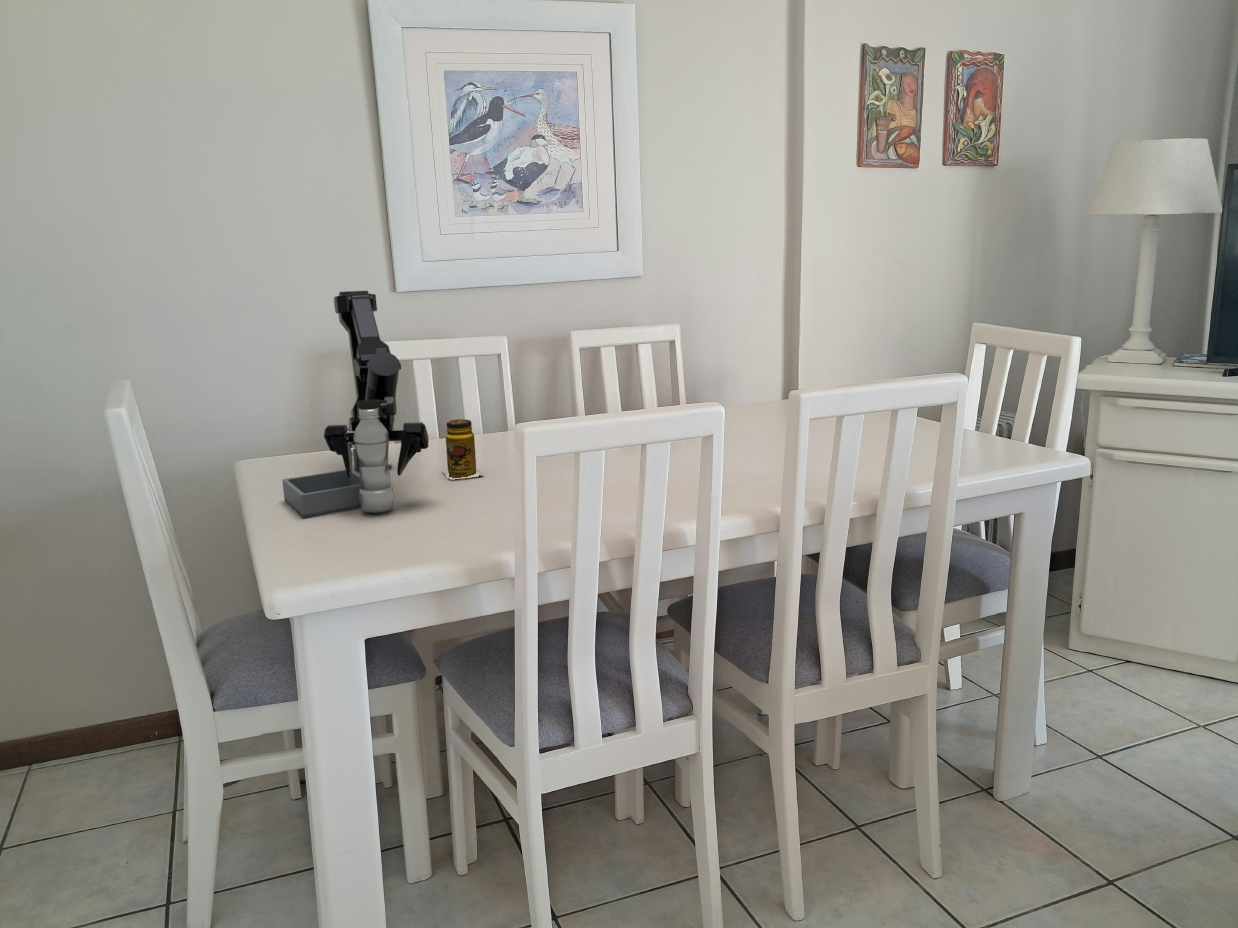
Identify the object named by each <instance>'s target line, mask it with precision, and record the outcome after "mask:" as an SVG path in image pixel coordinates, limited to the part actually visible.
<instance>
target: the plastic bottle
mask: <svg viewBox="0 0 1238 928" xmlns="http://www.w3.org/2000/svg"><path fill="white" fill-rule="evenodd" d="M379 418H380V416H379V408H377V409H371V410H361V409H360V408H359V419H361V420H360V423H359V424H358V426H357V428H356V429H355V431H354V435H353V439H354V444H355V445H354V449H355V448H356V452H357V456H358V463H359V469H360V470H359V474H360V491H359V501H360V505H361V508H360V509H362V511H364V512H366V513H369V514H378V513H379V514H380V513H385V512H389V511H391V510H392V509H393V507H394V506H395V501H396V495H395V492H394V487H393V486H392V481H391V474H390V469H389V465H390V464H389V448H390V447H389V445H390V441H389V434H388V431H387V429H386V428H385V427H384V425H383V424H382V423H381V422H380V421H379Z"/></svg>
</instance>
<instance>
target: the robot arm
mask: <svg viewBox="0 0 1238 928" xmlns="http://www.w3.org/2000/svg"><path fill="white" fill-rule="evenodd" d="M333 305H334V310H335V311H334V312H335V314H337V315H338V321H339V323H340V325H341V326H342V327H343V328H344V330H345V331H346V332H347V333H348V340H349V346H350V347H349V349H350V355H351V356H350V357H351V362H352V363H351V364H352V371H353V380H354V387H355V394H356V400H355V401H354V404H353V406H352V407H351V408H352V409H351V411H350V415H351V417H349V419H348V425H347V424H329V425H327V426H326V428H324V431H323V438H324V440H325V443H326V444H327V447H328V449H329V451H330V452H333V453H335V454H336V455H339V456H341V457H342V460H343V464H344V468H345V469H346V472H347V476H348V477H351V473H352V470H353V467H354V468H355V469H357V470H358V471H360V469H359V463H358V456H357V452H356V448H355V447H354V448H353V446H355V444H354V439H353V435H354V431H355V429H356V428H357V426H358V424H359V423H360V420H361V419H359V408H360V409H361V410H371V409H377V408H379V416H380V418H379V421H380V422H381V423H382V424H383V425H384V427H385V428H386V429H387V431H388V434H389V442H400V449H399V455H398V460H397V461H398V462H397V467H396V468H397V473H396V474H397V476H398V477H399V476H401V475H402V474H403V473H404V471H405V469H406V467H407V466H408V464H409V462H410V461H411V460H412V458H413V457H414V456H415V455H416V454H417V453H421V452H422V450H426V449H428V448H429V443H430V442H429V434H428V430H427V427H426V424H425V423H423V421H422V422H421V421H420V422H419V421H418V422H404V423H403V427H402V428H403V429H402V430H400V429H398V430H394V424H395V420H396V417H395V416H396V415H397V399H396V397H397V387H398V382H399V374H400V370H402V363H401V362H400V359H398V357H397V356H395V355H394V354H392V353H391V350H390V347H389V345H388V344H387V343H385V342H384V341H383V340H381V337H380V333H379V329H378V325H377V321H376V318H375V314H374V312H377V311H378V306H377V305H378V303H377V295H376V294H375V293H374V294H373V293H369V291H368V290H353V291H352V290H351V291H339V293H338V295H336V296H333ZM352 448H353V449H352ZM390 469H392V465H390V464H389V470H390Z"/></svg>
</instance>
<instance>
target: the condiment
mask: <svg viewBox="0 0 1238 928" xmlns="http://www.w3.org/2000/svg"><path fill="white" fill-rule="evenodd" d="M472 424H473V423H472V421H471V420H470V419H465V418H463V419H462V418H461V419H452V420H449V421H447V422H446V432H447V433H446V434H445V446H446V465H447V471H448V473H449V477H452V478H461V477H468V476H471V475H474V474H476V470H477V457H476V443H475V434H474V432H473V427H472V426H473V425H472ZM445 474H447V472H446V473H445Z"/></svg>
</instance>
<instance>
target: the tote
mask: <svg viewBox="0 0 1238 928" xmlns="http://www.w3.org/2000/svg"><path fill="white" fill-rule="evenodd" d="M281 482H282V488H283V498H284V499H283V500H284V502H285V503H286V505H288V506H289V507H290V508H291V509H292V510H294V511H295V513H297V514H298V515H299V516H300V517H301V518H302V519H309V518H313V517H320V516H326V515H330V514H337V513H341V512H346V511H352V510H353V511H354V510H358V509H362V508H361V505H360V501H359V491H360V473H358V472H356V471H355V470H353V469H352V473H351V477H348V476H347V472H346V468H345V469H339V470H334V471H327V472H321V473H315V474H308V475H301V476H296V477H289V478H284V479H281Z"/></svg>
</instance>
